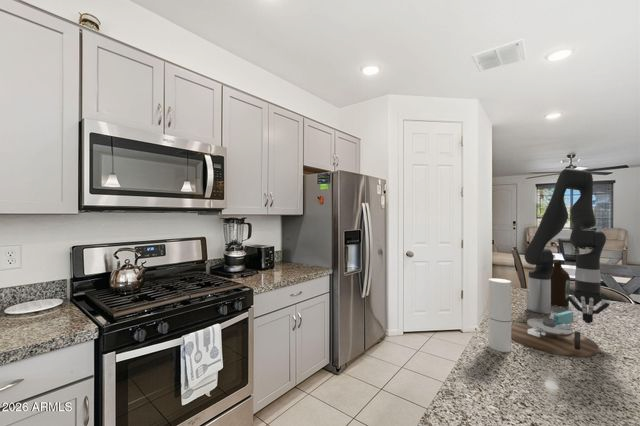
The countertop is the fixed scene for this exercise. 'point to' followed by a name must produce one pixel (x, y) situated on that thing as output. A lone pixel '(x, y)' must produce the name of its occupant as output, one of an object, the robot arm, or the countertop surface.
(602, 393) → the countertop surface
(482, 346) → the countertop surface
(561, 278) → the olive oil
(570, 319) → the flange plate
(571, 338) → the base plate
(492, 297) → the cylindrical container
